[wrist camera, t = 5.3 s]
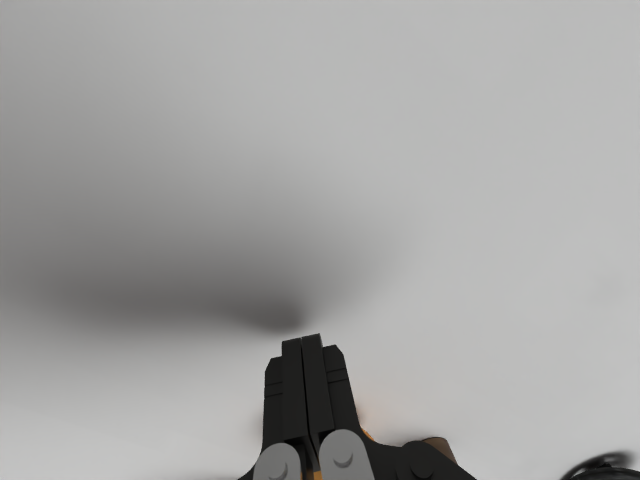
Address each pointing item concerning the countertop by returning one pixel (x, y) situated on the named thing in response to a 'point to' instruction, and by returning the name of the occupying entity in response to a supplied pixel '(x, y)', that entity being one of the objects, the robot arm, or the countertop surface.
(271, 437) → the robot arm
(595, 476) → the milk frother
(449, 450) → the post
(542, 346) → the countertop surface
